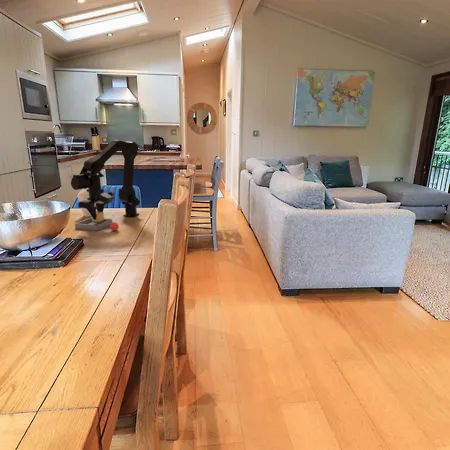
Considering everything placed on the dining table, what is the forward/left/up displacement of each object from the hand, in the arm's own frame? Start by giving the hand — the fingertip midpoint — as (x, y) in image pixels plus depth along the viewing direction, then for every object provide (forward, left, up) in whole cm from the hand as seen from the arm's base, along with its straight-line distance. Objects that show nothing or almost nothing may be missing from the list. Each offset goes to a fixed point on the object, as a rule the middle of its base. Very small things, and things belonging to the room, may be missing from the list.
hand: (97, 218), depth 153 cm
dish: (+3, 0, -3) cm, 4 cm away
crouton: (0, 0, -1) cm, 1 cm away
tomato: (+6, +13, -3) cm, 15 cm away
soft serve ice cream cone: (-13, -16, -3) cm, 21 cm away
